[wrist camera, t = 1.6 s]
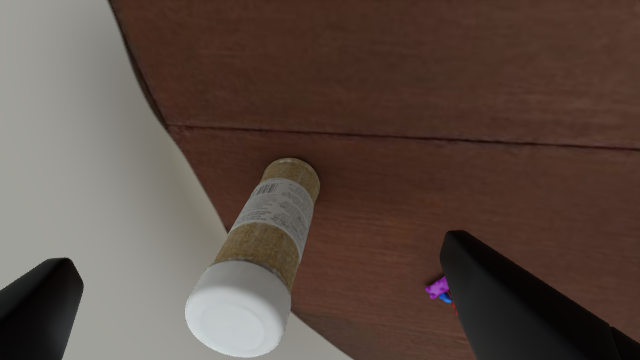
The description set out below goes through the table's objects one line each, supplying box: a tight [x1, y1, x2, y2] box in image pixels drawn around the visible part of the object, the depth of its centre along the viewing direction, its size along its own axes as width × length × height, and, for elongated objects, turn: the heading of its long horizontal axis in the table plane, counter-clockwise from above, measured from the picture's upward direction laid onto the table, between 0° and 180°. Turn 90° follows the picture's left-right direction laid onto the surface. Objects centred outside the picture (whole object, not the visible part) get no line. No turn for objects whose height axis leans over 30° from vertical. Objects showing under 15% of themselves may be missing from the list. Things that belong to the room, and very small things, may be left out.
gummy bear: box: [425, 276, 458, 315], centre depth 28 cm, size 5×3×4 cm, turn 94°
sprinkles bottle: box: [185, 158, 320, 357], centre depth 21 cm, size 5×5×14 cm
